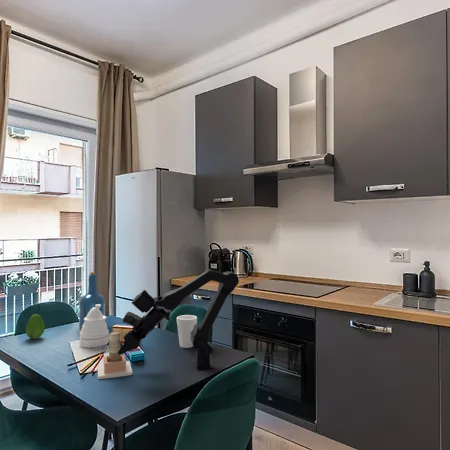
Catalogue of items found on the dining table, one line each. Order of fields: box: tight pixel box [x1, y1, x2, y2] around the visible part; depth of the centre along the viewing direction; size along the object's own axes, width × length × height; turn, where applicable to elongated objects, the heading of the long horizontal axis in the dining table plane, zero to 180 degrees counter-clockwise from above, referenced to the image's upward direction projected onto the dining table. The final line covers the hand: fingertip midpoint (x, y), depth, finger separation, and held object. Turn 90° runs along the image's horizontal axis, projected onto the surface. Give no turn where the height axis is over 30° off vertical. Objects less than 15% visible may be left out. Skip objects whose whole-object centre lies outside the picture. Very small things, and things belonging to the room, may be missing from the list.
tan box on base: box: [97, 354, 133, 380], centre depth 137 cm, size 12×12×4 cm
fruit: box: [25, 313, 46, 340], centre depth 176 cm, size 8×8×12 cm
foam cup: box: [176, 314, 198, 349], centre depth 167 cm, size 10×9×13 cm
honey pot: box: [79, 304, 110, 348], centre depth 170 cm, size 13×13×18 cm
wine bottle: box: [78, 271, 106, 329], centre depth 197 cm, size 14×13×30 cm
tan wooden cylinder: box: [108, 331, 121, 362], centre depth 137 cm, size 4×4×13 cm
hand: (122, 349), depth 137 cm, fingers open, 9 cm apart
